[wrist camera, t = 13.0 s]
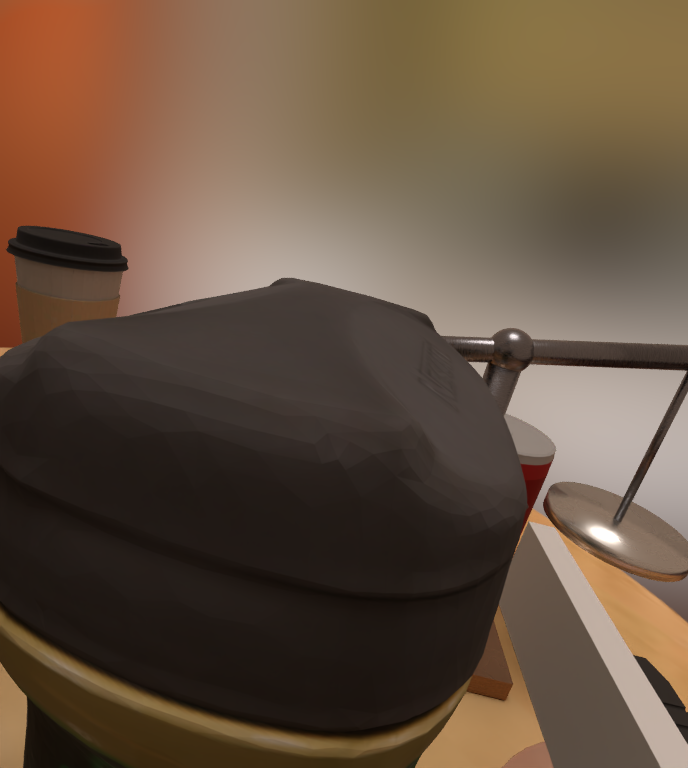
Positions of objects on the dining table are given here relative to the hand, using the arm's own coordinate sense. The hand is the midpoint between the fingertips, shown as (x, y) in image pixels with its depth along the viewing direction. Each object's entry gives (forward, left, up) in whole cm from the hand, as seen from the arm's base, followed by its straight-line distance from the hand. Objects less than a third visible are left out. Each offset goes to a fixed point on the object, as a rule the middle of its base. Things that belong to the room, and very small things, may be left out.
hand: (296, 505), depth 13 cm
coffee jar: (0, -3, -12) cm, 13 cm away
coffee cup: (-26, +30, -14) cm, 42 cm away
